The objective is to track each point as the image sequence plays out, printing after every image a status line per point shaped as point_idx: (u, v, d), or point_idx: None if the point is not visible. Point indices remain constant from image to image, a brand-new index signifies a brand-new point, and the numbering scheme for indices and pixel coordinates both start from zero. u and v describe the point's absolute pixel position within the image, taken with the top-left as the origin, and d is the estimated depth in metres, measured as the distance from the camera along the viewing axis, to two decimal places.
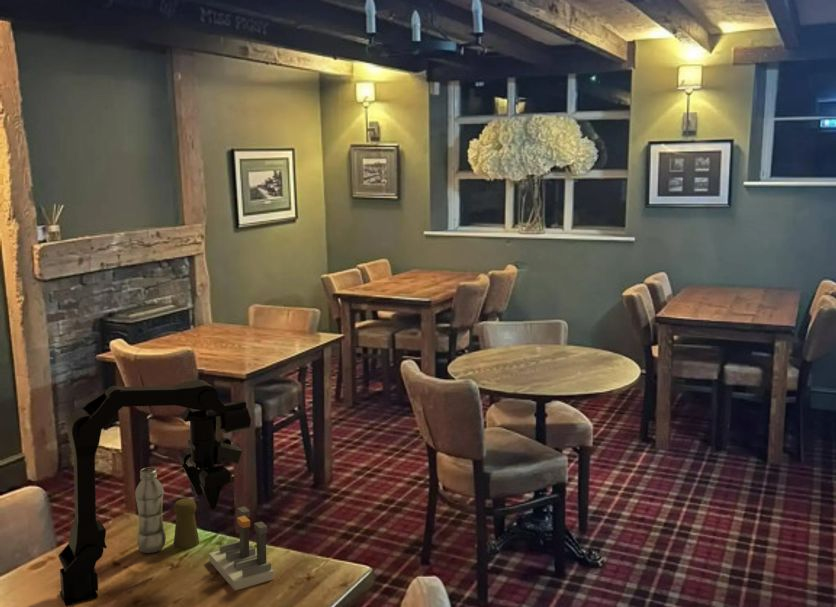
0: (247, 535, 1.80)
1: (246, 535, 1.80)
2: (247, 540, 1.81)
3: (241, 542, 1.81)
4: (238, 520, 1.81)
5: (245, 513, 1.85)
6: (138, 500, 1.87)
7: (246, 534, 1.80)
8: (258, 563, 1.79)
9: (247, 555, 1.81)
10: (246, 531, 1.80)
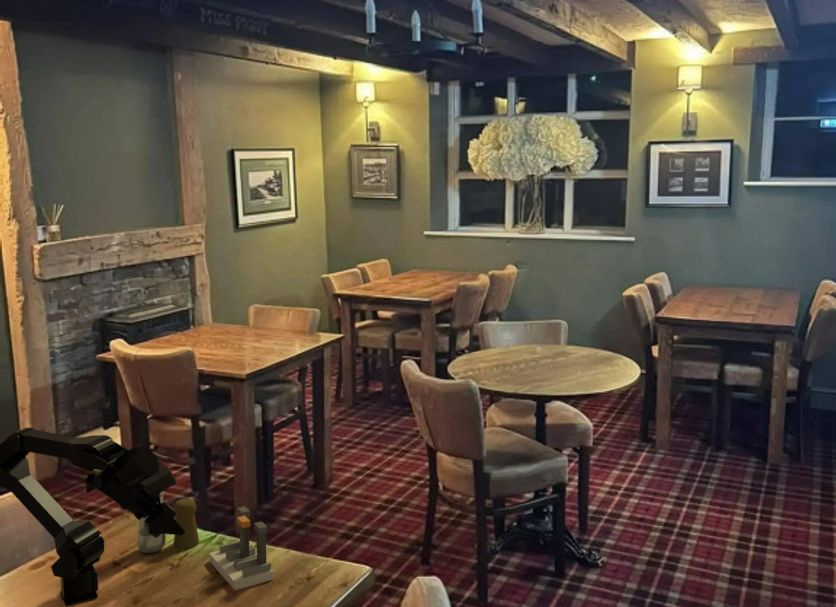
0: (247, 535, 1.80)
1: (246, 535, 1.80)
2: (247, 540, 1.81)
3: (241, 542, 1.81)
4: (238, 520, 1.81)
5: (245, 513, 1.85)
6: None
7: (246, 534, 1.80)
8: (258, 563, 1.79)
9: (247, 555, 1.81)
10: (246, 531, 1.80)
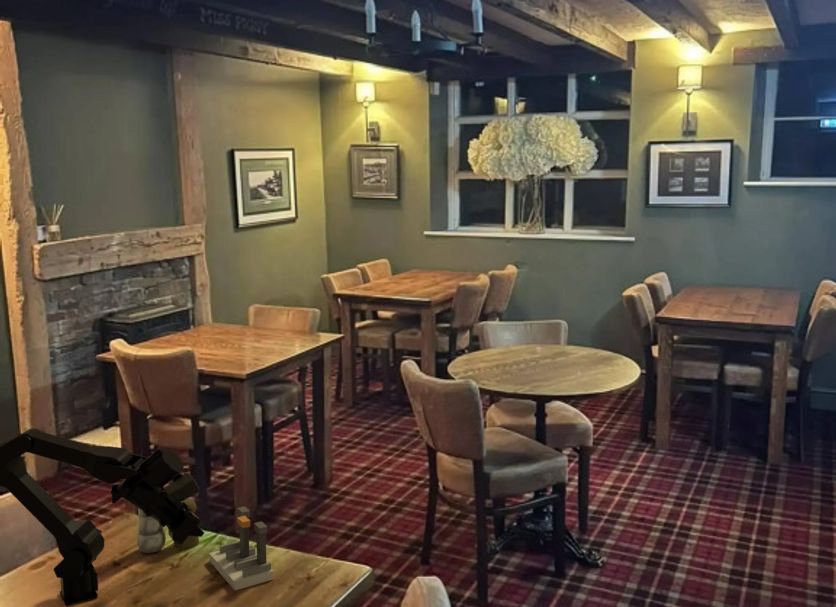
0: (247, 535, 1.80)
1: (246, 535, 1.80)
2: (247, 540, 1.81)
3: (241, 542, 1.81)
4: (238, 520, 1.81)
5: (245, 513, 1.85)
6: None
7: (246, 534, 1.80)
8: (258, 563, 1.79)
9: (247, 555, 1.81)
10: (246, 531, 1.80)
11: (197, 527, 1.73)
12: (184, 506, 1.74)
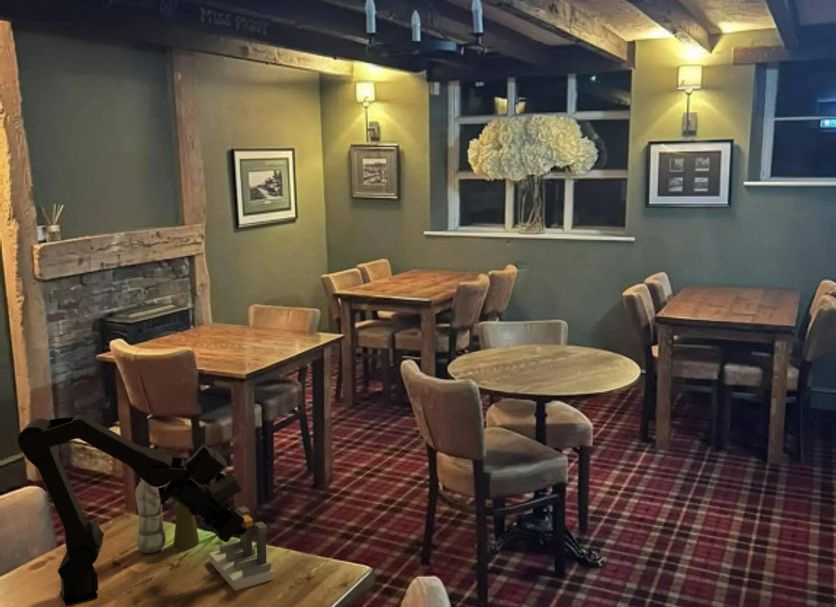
0: (250, 534, 1.81)
1: (250, 534, 1.81)
2: (250, 539, 1.81)
3: (244, 541, 1.82)
4: None
5: (245, 513, 1.85)
6: (138, 500, 1.87)
7: (249, 534, 1.81)
8: (258, 563, 1.79)
9: (250, 554, 1.81)
10: (249, 530, 1.80)
11: None
12: (226, 505, 1.79)
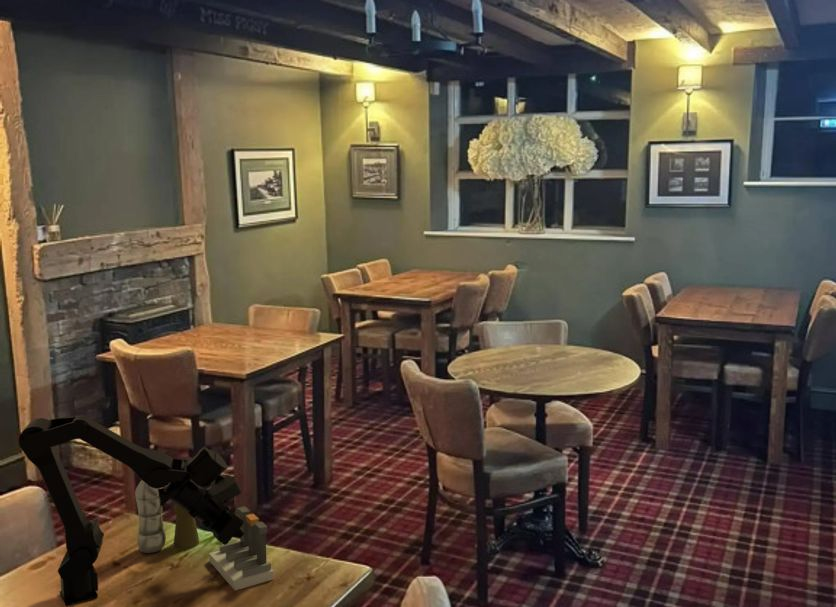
0: None
1: (255, 533, 1.81)
2: None
3: (250, 540, 1.82)
4: (247, 518, 1.82)
5: (245, 513, 1.85)
6: (138, 500, 1.87)
7: (255, 532, 1.81)
8: (258, 563, 1.79)
9: (256, 553, 1.82)
10: None
11: None
12: (225, 507, 1.80)
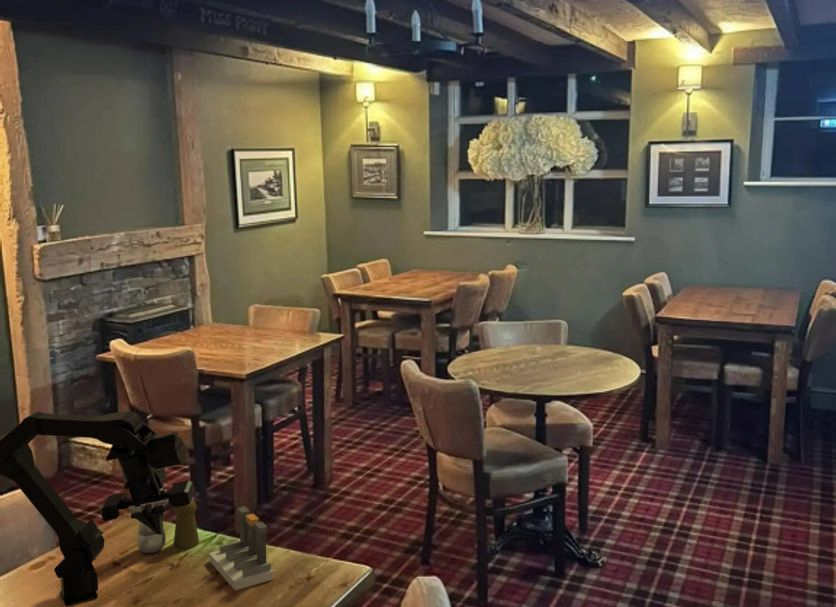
0: None
1: (255, 533, 1.81)
2: None
3: (250, 540, 1.82)
4: (247, 518, 1.82)
5: (245, 513, 1.85)
6: None
7: (255, 532, 1.81)
8: (258, 563, 1.79)
9: (256, 553, 1.82)
10: None
11: (162, 520, 1.72)
12: None
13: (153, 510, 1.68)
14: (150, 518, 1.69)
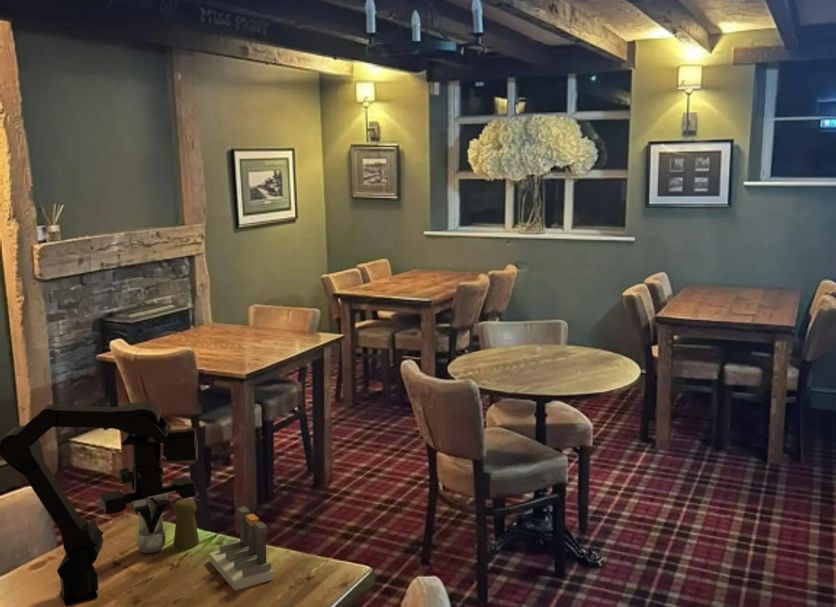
0: None
1: (255, 533, 1.81)
2: None
3: (250, 540, 1.82)
4: (247, 518, 1.82)
5: (245, 513, 1.85)
6: None
7: (255, 532, 1.81)
8: (258, 563, 1.79)
9: (256, 553, 1.82)
10: None
11: None
12: None
13: (157, 503, 1.69)
14: None
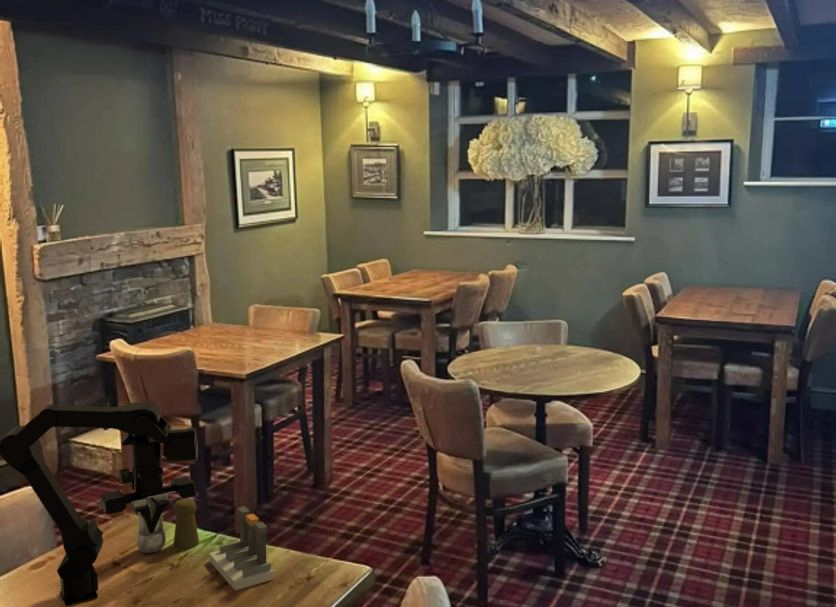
0: None
1: (255, 533, 1.81)
2: None
3: (250, 540, 1.82)
4: (247, 518, 1.82)
5: (245, 513, 1.85)
6: None
7: (255, 532, 1.81)
8: (258, 563, 1.79)
9: (256, 553, 1.82)
10: None
11: None
12: None
13: (157, 503, 1.69)
14: None
